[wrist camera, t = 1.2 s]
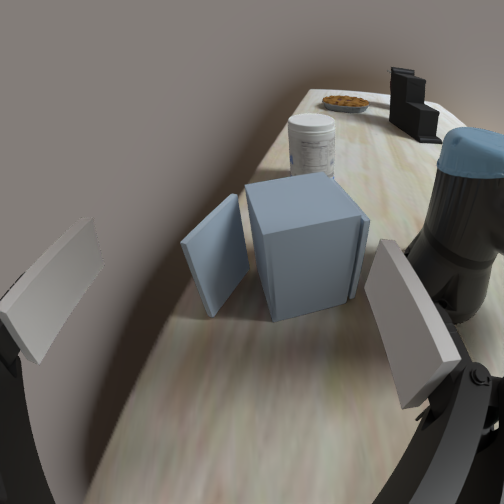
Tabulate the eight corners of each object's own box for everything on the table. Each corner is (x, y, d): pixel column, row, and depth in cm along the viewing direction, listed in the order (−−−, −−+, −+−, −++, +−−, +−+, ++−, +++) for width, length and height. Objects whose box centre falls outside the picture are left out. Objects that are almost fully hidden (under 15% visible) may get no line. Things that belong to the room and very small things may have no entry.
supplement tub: (289, 173, 64) (285, 113, 54) (329, 171, 63) (329, 112, 53) (293, 194, 57) (289, 126, 47) (338, 192, 56) (340, 124, 46)
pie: (327, 101, 122) (327, 92, 118) (370, 106, 113) (371, 97, 110) (317, 111, 108) (316, 100, 104) (367, 116, 99) (367, 105, 96)
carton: (326, 252, 43) (331, 170, 34) (353, 301, 35) (371, 213, 26) (257, 268, 42) (244, 184, 33) (272, 322, 35) (263, 235, 25)
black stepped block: (442, 144, 75) (449, 81, 60) (419, 143, 76) (425, 76, 60) (410, 123, 93) (412, 69, 77) (388, 122, 93) (389, 66, 77)
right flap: (244, 267, 42) (230, 193, 33) (249, 268, 41) (237, 194, 33) (207, 315, 36) (179, 242, 28) (212, 317, 35) (186, 244, 27)
